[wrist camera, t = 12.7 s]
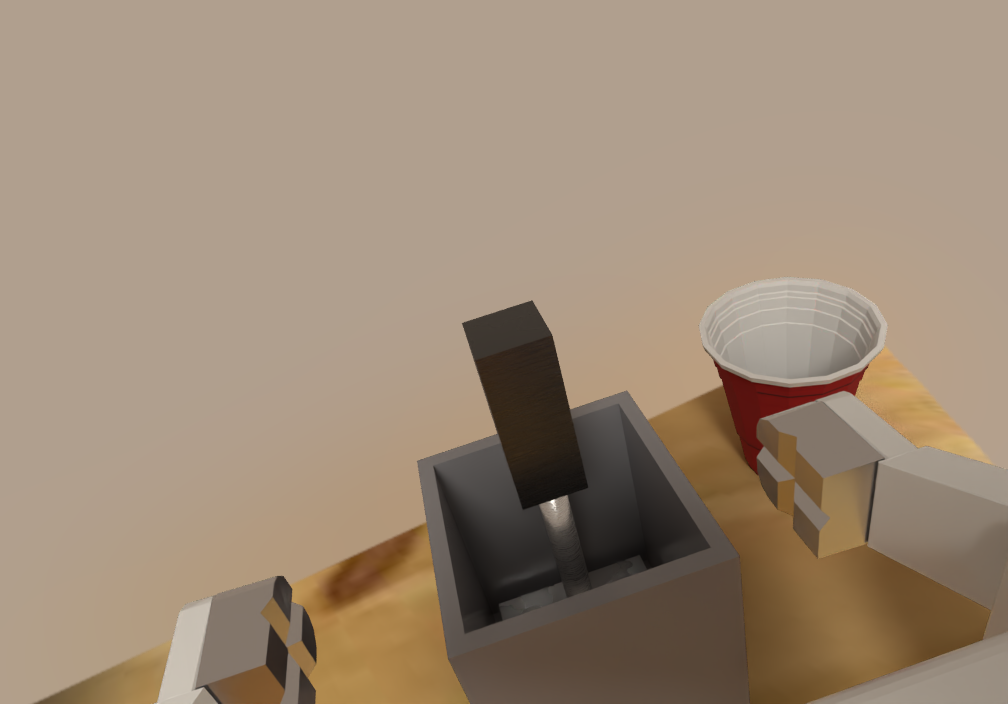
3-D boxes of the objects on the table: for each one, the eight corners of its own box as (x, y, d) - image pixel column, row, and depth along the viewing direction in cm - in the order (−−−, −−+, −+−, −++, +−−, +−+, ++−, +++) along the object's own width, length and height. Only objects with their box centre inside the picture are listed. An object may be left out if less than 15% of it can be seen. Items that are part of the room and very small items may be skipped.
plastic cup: (742, 533, 43) (733, 389, 37) (691, 428, 52) (677, 299, 46) (909, 497, 42) (930, 344, 36) (828, 397, 52) (833, 262, 45)
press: (527, 818, 33) (448, 658, 25) (483, 617, 43) (417, 460, 35) (752, 735, 33) (739, 556, 26) (655, 556, 43) (627, 390, 36)
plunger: (539, 763, 33) (400, 438, 21) (501, 611, 41) (384, 312, 29) (710, 701, 33) (665, 350, 22) (641, 563, 41) (580, 249, 30)
